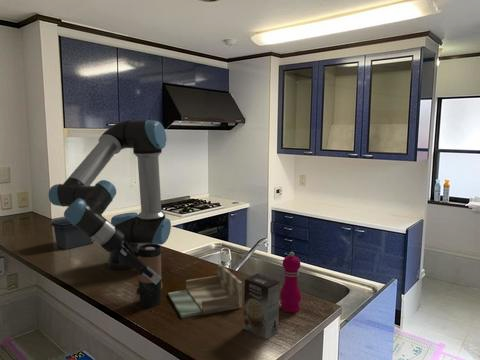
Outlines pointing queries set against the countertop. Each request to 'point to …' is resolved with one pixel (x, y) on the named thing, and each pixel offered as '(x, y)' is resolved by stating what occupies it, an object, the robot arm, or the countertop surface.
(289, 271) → the pepper mill
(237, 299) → the stepped plastic tray
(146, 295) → the travel mug
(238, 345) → the countertop surface
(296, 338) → the countertop surface
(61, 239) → the storage bin
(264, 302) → the coffee box
